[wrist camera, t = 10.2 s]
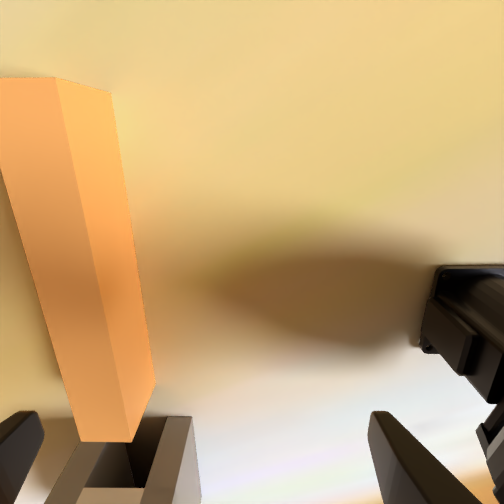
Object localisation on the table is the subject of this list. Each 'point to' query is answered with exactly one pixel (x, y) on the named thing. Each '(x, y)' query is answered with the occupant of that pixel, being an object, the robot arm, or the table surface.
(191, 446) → the dispenser
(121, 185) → the orange rectangular bar
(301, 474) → the table surface
